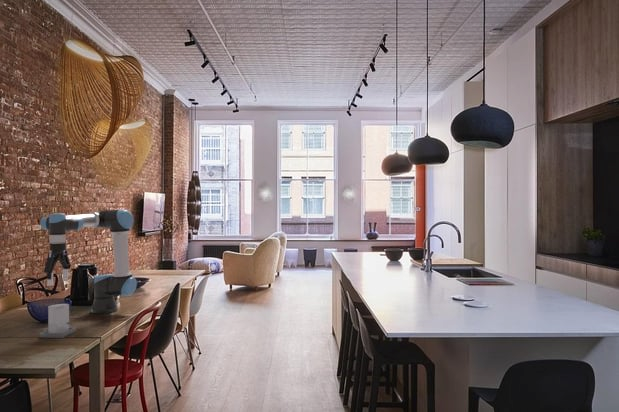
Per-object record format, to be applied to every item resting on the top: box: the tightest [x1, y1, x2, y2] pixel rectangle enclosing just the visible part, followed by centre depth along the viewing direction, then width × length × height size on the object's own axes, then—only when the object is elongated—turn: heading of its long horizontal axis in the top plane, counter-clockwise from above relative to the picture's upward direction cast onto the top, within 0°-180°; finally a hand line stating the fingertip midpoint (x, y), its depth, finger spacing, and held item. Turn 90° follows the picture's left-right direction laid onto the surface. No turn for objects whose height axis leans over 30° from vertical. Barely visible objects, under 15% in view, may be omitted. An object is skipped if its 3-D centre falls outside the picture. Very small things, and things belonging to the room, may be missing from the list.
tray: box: [39, 326, 77, 339], centre depth 248 cm, size 12×12×2 cm
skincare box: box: [47, 303, 70, 333], centre depth 249 cm, size 8×6×15 cm
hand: (58, 283), depth 248 cm, fingers open, 13 cm apart
